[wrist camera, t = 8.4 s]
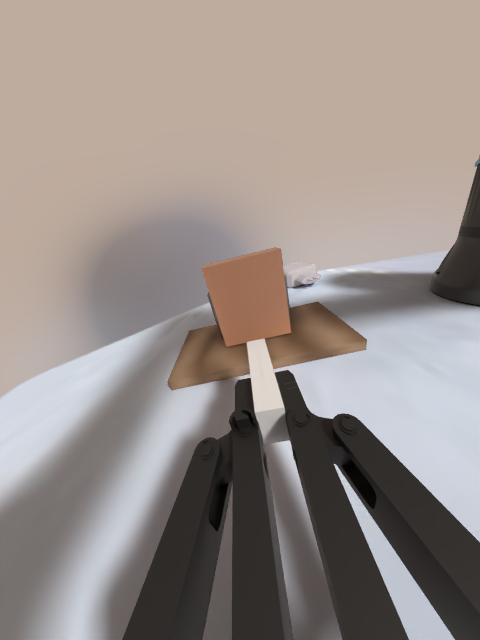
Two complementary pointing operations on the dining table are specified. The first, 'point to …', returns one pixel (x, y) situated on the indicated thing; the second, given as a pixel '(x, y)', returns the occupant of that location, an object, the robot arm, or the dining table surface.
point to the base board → (288, 349)
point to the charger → (300, 274)
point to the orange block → (249, 296)
